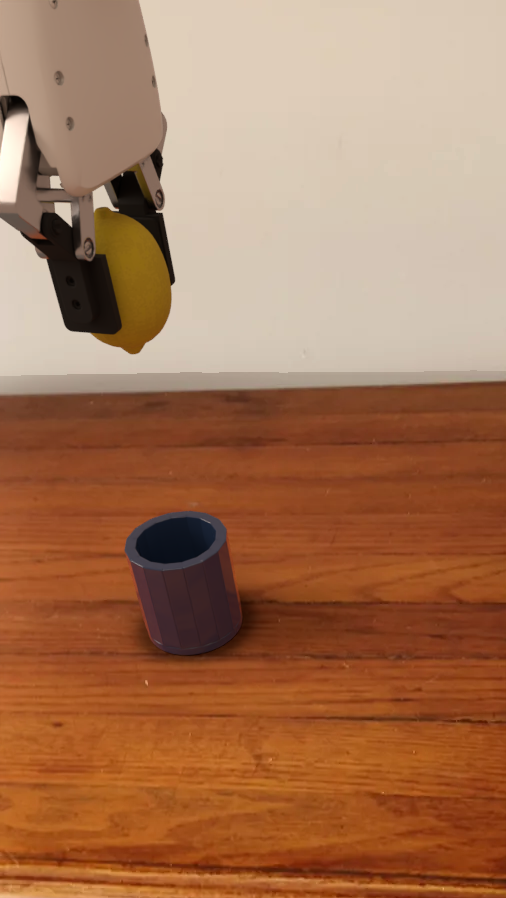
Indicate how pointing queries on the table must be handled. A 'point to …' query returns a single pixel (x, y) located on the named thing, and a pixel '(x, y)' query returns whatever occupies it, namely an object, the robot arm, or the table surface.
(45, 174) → the robot arm
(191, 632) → the cup
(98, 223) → the lemon
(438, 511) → the table surface
